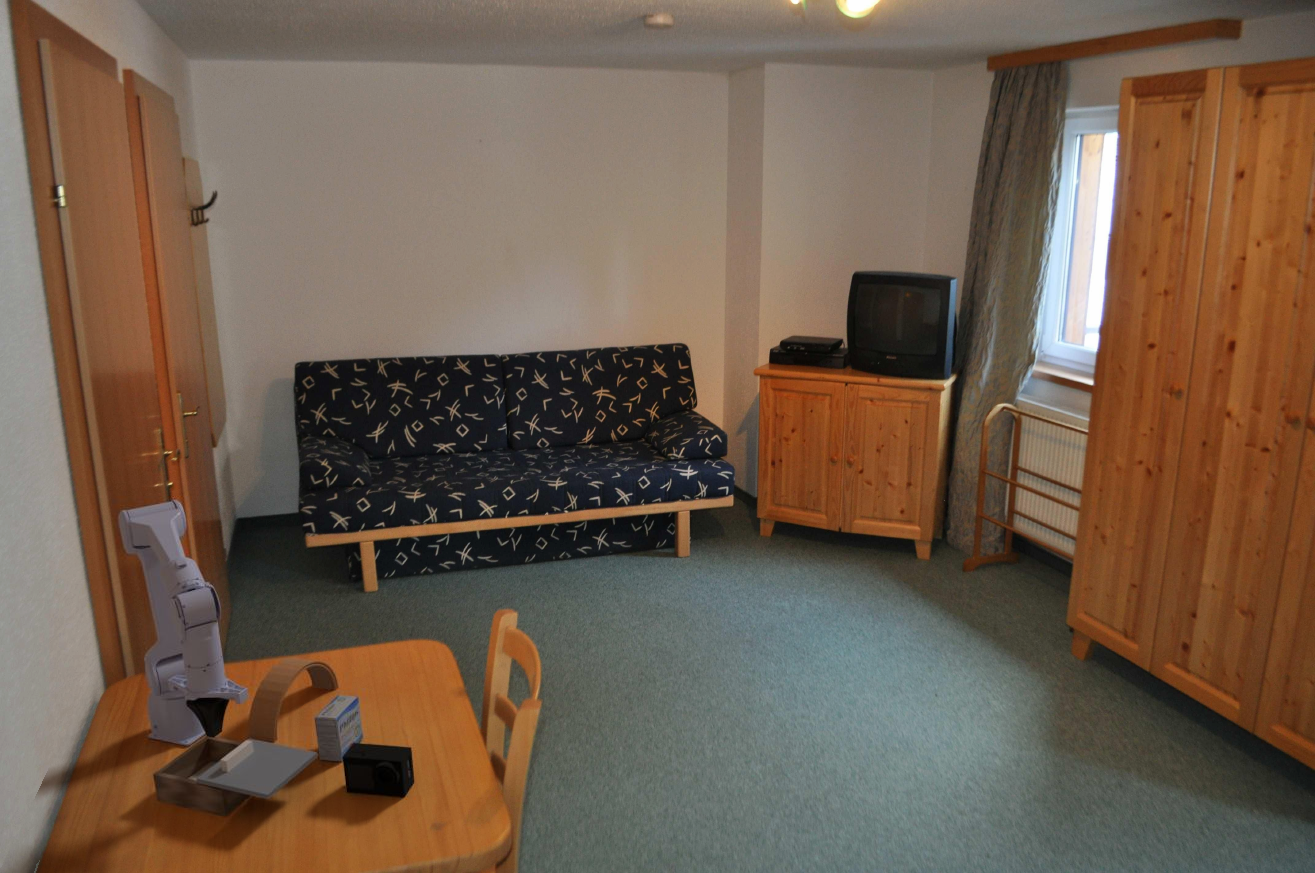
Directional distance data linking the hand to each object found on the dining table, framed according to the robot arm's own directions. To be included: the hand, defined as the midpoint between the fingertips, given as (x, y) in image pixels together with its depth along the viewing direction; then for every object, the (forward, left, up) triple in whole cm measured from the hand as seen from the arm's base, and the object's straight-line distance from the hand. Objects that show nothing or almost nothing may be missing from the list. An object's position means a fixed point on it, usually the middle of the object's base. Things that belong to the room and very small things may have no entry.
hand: (214, 733), depth 161 cm
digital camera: (+25, +8, -11) cm, 29 cm away
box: (-1, 0, -10) cm, 10 cm away
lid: (+8, 0, -5) cm, 10 cm away
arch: (-4, +24, -11) cm, 27 cm away
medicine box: (+12, +16, -11) cm, 23 cm away
